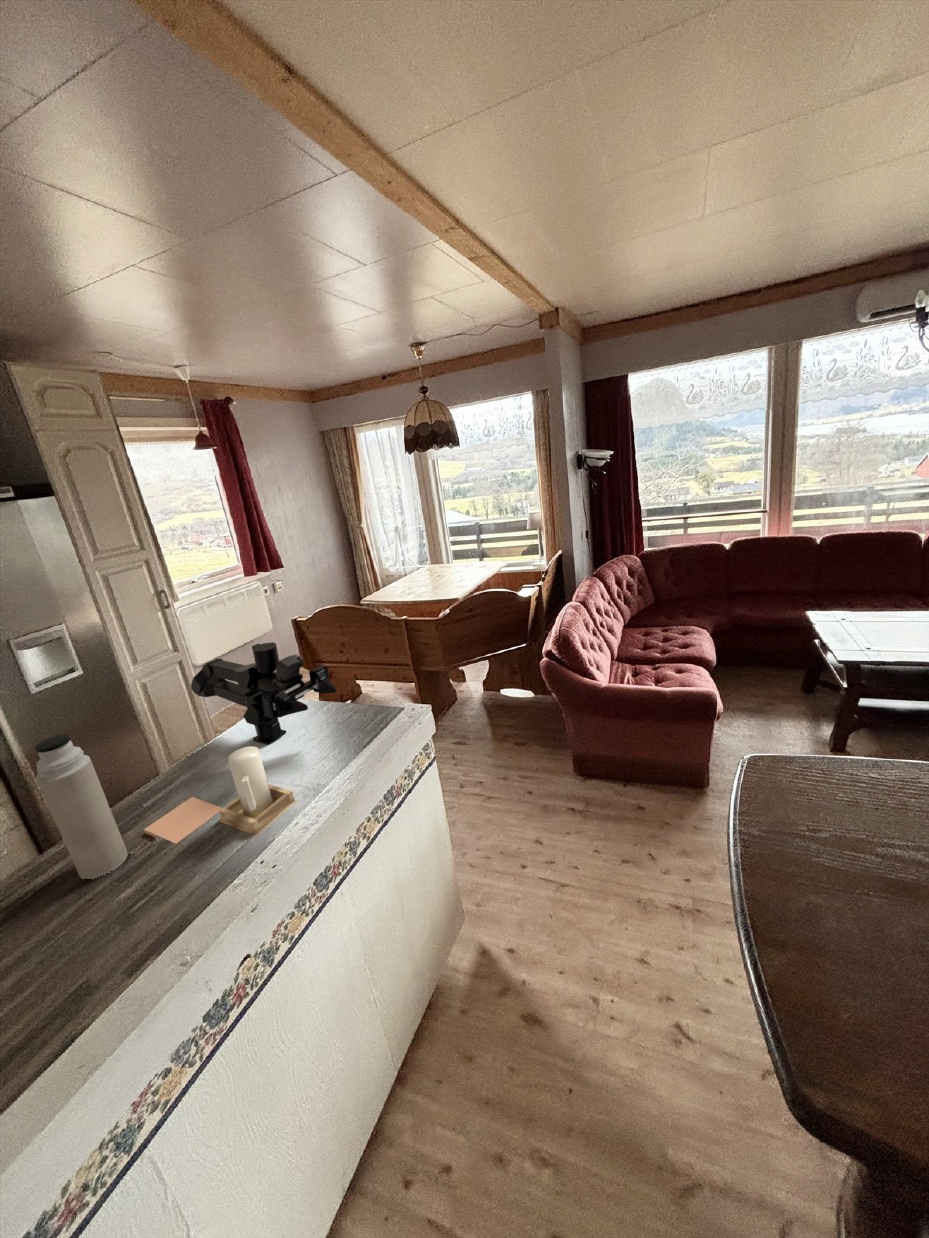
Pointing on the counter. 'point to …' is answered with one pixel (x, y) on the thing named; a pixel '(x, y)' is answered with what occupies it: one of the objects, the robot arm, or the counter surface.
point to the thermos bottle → (79, 807)
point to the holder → (237, 819)
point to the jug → (250, 781)
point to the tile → (182, 820)
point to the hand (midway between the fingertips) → (322, 698)
